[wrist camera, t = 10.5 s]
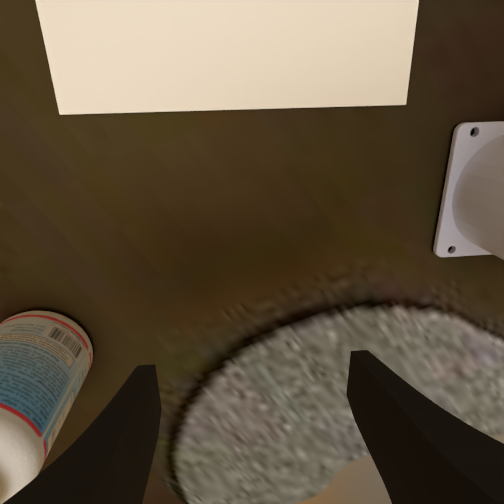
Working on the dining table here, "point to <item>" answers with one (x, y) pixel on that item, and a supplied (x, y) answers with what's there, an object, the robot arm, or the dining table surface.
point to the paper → (227, 53)
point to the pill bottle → (36, 390)
